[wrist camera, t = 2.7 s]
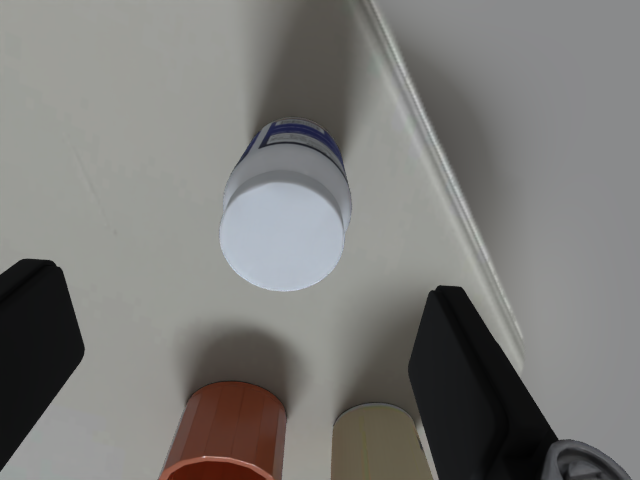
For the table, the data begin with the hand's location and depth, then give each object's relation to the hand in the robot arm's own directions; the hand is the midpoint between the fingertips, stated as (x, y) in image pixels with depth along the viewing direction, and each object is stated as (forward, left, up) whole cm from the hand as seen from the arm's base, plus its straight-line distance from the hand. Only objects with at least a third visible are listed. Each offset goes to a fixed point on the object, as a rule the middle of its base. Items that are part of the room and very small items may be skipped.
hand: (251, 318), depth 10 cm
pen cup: (+4, +24, -14) cm, 28 cm away
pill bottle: (0, 0, -14) cm, 14 cm away
